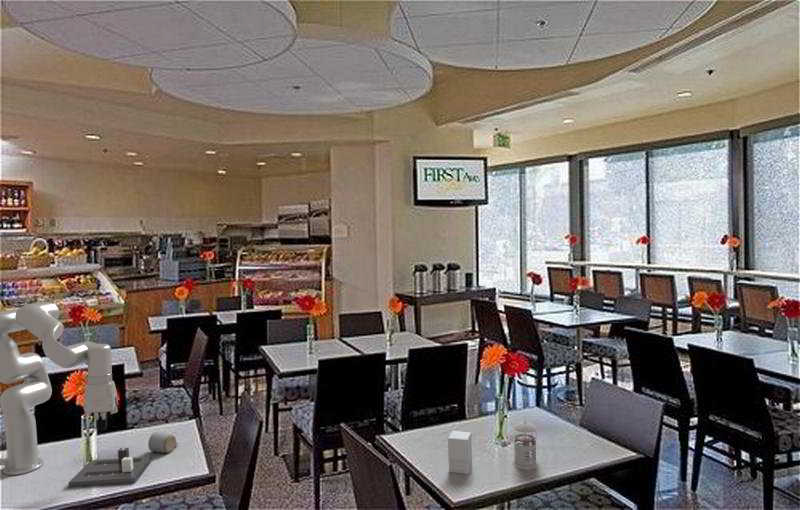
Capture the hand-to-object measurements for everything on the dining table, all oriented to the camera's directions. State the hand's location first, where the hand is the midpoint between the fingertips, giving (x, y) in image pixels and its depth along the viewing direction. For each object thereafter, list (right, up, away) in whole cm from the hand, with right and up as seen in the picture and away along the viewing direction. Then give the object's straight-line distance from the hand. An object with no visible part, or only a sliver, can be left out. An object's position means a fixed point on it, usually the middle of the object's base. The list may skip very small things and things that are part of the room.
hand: (102, 429), depth 201 cm
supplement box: (+129, -15, +2) cm, 130 cm away
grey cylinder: (+12, -16, +25) cm, 32 cm away
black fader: (+3, -15, +10) cm, 18 cm away
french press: (+153, -14, +5) cm, 154 cm away
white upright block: (+8, -15, +2) cm, 18 cm away
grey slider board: (+1, -18, +4) cm, 18 cm away
